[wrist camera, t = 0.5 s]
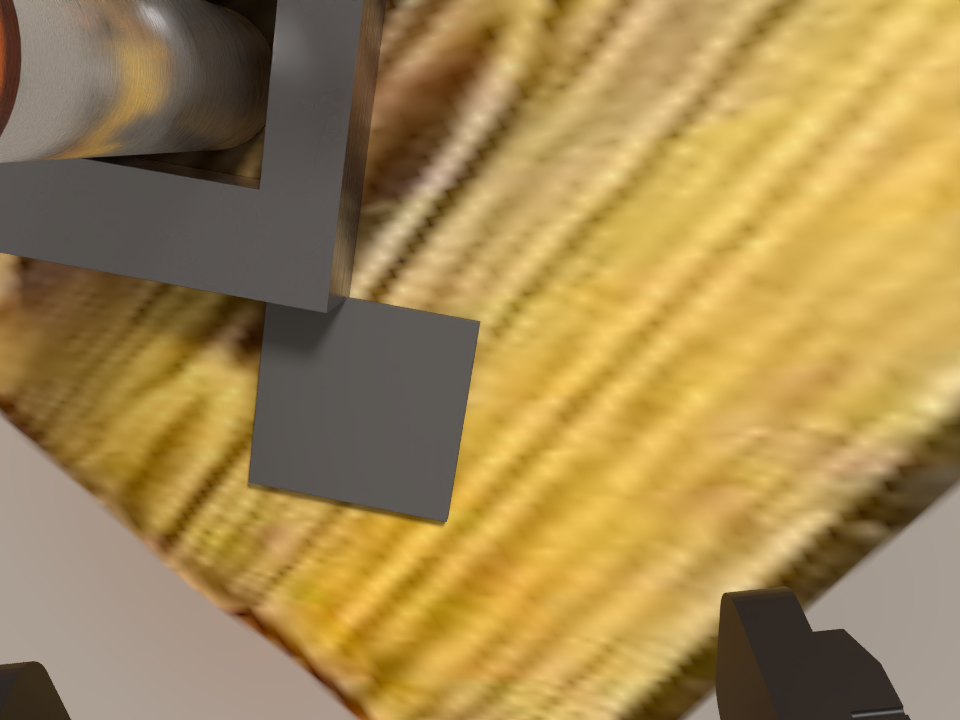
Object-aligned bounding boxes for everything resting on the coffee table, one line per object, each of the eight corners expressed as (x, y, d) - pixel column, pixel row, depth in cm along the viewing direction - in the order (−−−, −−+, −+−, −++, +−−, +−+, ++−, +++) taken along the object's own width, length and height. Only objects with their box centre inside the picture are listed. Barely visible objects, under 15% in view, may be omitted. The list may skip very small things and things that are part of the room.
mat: (271, 282, 35) (268, 284, 34) (480, 321, 34) (478, 323, 34) (251, 478, 37) (248, 482, 36) (448, 517, 36) (446, 522, 36)
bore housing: (60, -160, 32) (6, -188, 29) (399, -110, 31) (379, -134, 28) (46, 241, 35) (-3, 251, 32) (348, 297, 34) (326, 312, 31)
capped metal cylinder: (136, -23, 32) (-342, -179, 16) (300, 3, 32) (-17, -130, 15) (126, 149, 34) (-318, 170, 17) (282, 176, 34) (-23, 224, 17)
